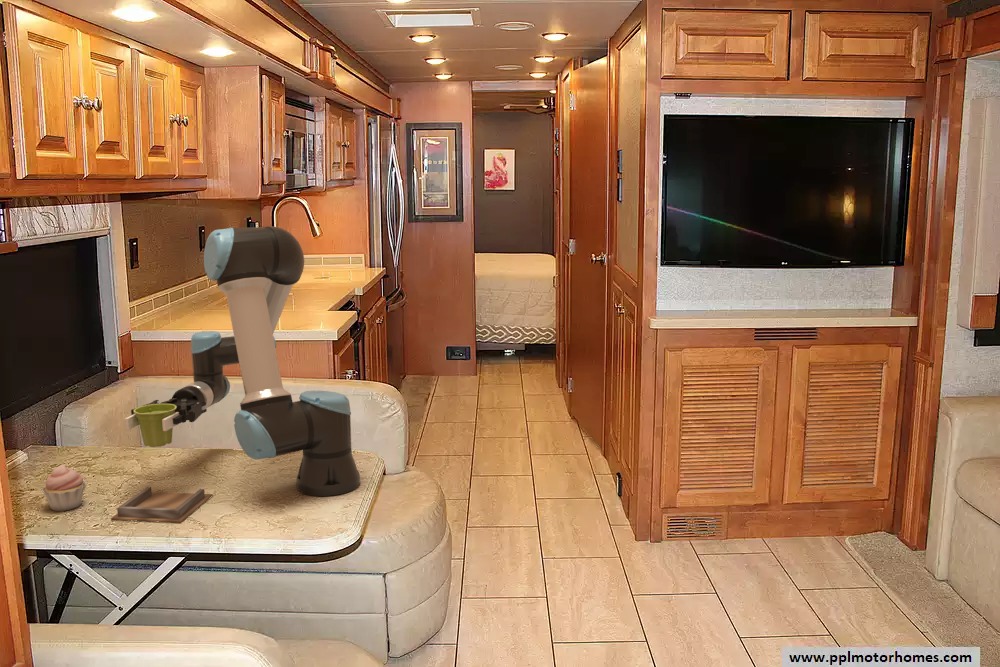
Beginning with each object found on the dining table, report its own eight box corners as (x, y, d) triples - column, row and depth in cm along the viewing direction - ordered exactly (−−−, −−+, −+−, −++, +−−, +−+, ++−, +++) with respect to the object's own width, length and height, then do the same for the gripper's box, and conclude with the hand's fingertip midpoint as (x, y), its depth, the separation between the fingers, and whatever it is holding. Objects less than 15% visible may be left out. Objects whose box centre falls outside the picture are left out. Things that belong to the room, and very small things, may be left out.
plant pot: (137, 440, 206) (134, 405, 204) (178, 436, 209) (176, 401, 207) (136, 451, 197) (132, 415, 195) (179, 447, 200) (176, 411, 199)
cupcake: (96, 505, 197) (92, 463, 195) (54, 517, 190) (49, 474, 188) (78, 495, 203) (74, 455, 201) (36, 507, 196) (32, 465, 194)
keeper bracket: (212, 496, 202) (212, 486, 202) (180, 523, 187) (179, 512, 186) (148, 493, 204) (147, 483, 203) (111, 520, 188) (110, 509, 188)
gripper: (232, 415, 219) (190, 441, 197) (154, 412, 221) (103, 439, 199) (230, 386, 217) (187, 410, 195) (151, 384, 220) (100, 407, 198)
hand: (145, 424), depth 197 cm, fingers closed on plant pot, 8 cm apart
